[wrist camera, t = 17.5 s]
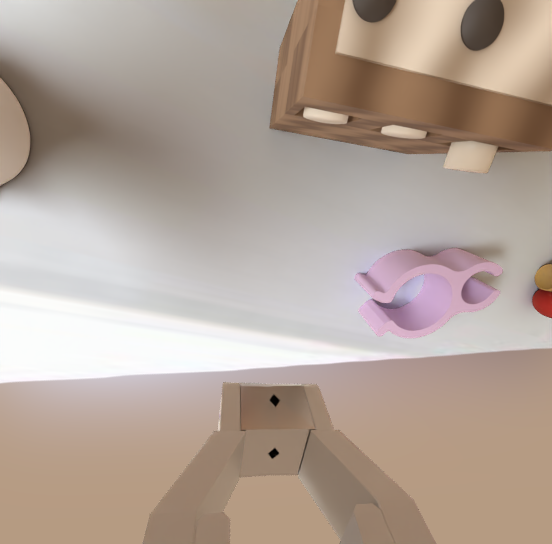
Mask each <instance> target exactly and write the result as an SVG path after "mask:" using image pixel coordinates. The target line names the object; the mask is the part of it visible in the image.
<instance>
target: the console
mask: <svg viewBox="0 0 552 544" xmlns="http://www.w3.org/2000/svg"><path fill="white" fill-rule="evenodd" d="M304 107H309V108H314V109H319V110H324V111H328V112H333V113H338V114H343V115H348V121H347V123H346V124H329V123H322V122H317V121H312V120H309V119H306V118H304V117H303V113H304ZM390 125H397V126H402V127H407V128H412V129H417V130H421V131H426V132H427V134H426V137H425V138H422V139H408V138H399V137H392V136H388V135H384V134H382V133H381V130H382V127H385V126H390ZM270 128H271V129H276V130H282V131H287V132H292V133H298V134H303V135H309V136H314V137H319V138H325V139H330V140H335V141H341V142H346V143H352V144H357V145H362V146H368V147H373V148H378V149H384V150H389V151H395V152H400V153H405V154H434V153H448V151H449V148H450V146H451V143H452V142H462V141H475V142H480V143H485V144H490V145H495V146H498V149H497V151H496V152H527V151H552V0H298V1H297V4H296V7H295V9H294V12H293V14H292V17H291V20H290V22H289V25H288V28H287V30H286V33H285V36H284V38H283V41H282V44H281V46H280V50H279V58H278V66H277V73H276V81H275V89H274V97H273V105H272V113H271V120H270Z"/></svg>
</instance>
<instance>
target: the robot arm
mask: <svg viewBox="0 0 552 544" xmlns="http://www.w3.org/2000/svg"><path fill="white" fill-rule="evenodd" d="M29 151H30V132H29V127H28V123H27V120H26V117H25V114H24V112H23V110H22V108H21V106H20V104H19V102H18V100H17V99H16V97H15V95H14V94H13V93H12V91H11V90H10V88H9V87H8V86H7V85H6V83H5V82H4V81H3V80H2V79H1V78H0V185H2V184H4V183H6V182H8V181H10V180H11V179H13V178H14V177H15V176H17V175H18V174H19V173H20V171H21V170H22V169H23V167H24V166H25V164H26V161H27V159H28V156H29ZM266 475H298V478H299V479H300V481H301V482H302V484H303V485H304V486H305V488H306V489H307V491H308V492H309V493H310V495H311V497H312V498H313V500H314V501H315V503H316V504H317V506H318V507H319V509H320V510H321V512H322V513H323V515H324V516H325V517H326V519H327V521H328V522H329V524H330V525H331V526H332V528H333V530H334V531H335V532H336V534H337V535H338V537H339V538H340V540H341V541H340V544H436V542H435V540H434V538H433V537H432V535H431V533H430V531H429V529H428V527H427V525H426V523H425V521H424V519H423V517H422V515H421V513H420V511H419V509H418V507H417V505H416V503H415V501H414V500H413V499H412V498H411V497H410V496H409V495H408V494H407V493H406V492H405V491H404V490H403V489H402V488H401V487H399V486H398V484H396V483H395V482H394V481H393V480H392V479H391V478H390V477H389V476H388V475H387V474H386V473H385V472H384V471H382V470H381V469H380V468H379V467H378V466H377V465H376V464H375V463H374V462H373V461H372V460H371V459H370V458H369V457H368V456H367V455H365V454H364V453H363V452H362V451H361V450H360V449H359V448H358V447H357V446H356V445H355V444H354V443H353V442H352V441H351V440H350V439H348V438H347V437H346V436H345V435H344V434H343V433H342V432H340V430H334V427H333V425H332V422H331V419H330V416H329V413H328V411H327V408H326V405H325V402H324V400H323V397H322V394H321V391H320V389H319V386H318V385H317V384H259V383H240V384H239V383H229V382H223V387H222V396H221V406H220V415H219V425H218V431H214V432H213V433H212V434H211V436H210V437H209V438H208V440H207V441H206V442H205V444H204V445H203V446H202V447H201V449H200V450H199V451H198V453H197V454H196V455H195V457H194V458H193V459H192V460H191V462H190V463H189V464H188V466H187V467H186V468H185V470H184V471H183V472H182V474H181V475H180V476H179V478H178V479H177V480H176V481H175V483H174V484H173V485H172V487H171V488H170V489H169V490H168V492H167V493H166V494H165V496H164V497H163V498H162V499H161V501H160V502H159V503H158V505H157V506H156V507H155V509H154V510H153V511H152V512H151V514H150V517H149V520H148V524H147V528H146V532H145V536H144V540H143V544H230V519H229V518H228V516H227V515H225V513H224V512H223V511H224V508H225V506H226V505H227V503H228V501H229V499H230V497H231V494H232V492H233V491H234V489H235V487H236V485H237V483H238V481H239V477H252V476H266Z"/></svg>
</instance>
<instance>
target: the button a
mask: <svg viewBox="0 0 552 544" xmlns="http://www.w3.org/2000/svg"><path fill="white" fill-rule="evenodd" d="M303 117H304V118H306V119H309V120H312V121H317V122H322V123H329V124H346V123H347V121H348V115H343V114H338V113H333V112H328V111H324V110H319V109H314V108H309V107H304V113H303Z"/></svg>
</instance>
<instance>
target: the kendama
mask: <svg viewBox="0 0 552 544" xmlns="http://www.w3.org/2000/svg"><path fill="white" fill-rule="evenodd" d="M535 283H536V285H537V286H538V287H539V288H540V289H539V290H538V291H537V292H536V293H535V294H534V296H533V299H532V303H533V306H534V308H535V309H536V310H537V311H538V312H539V313H540V314H542V315H544V316H546V317H550V318H552V264H546V265H544V266H542V267H541V268H539V270H538V271H537V273H536V275H535Z"/></svg>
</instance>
